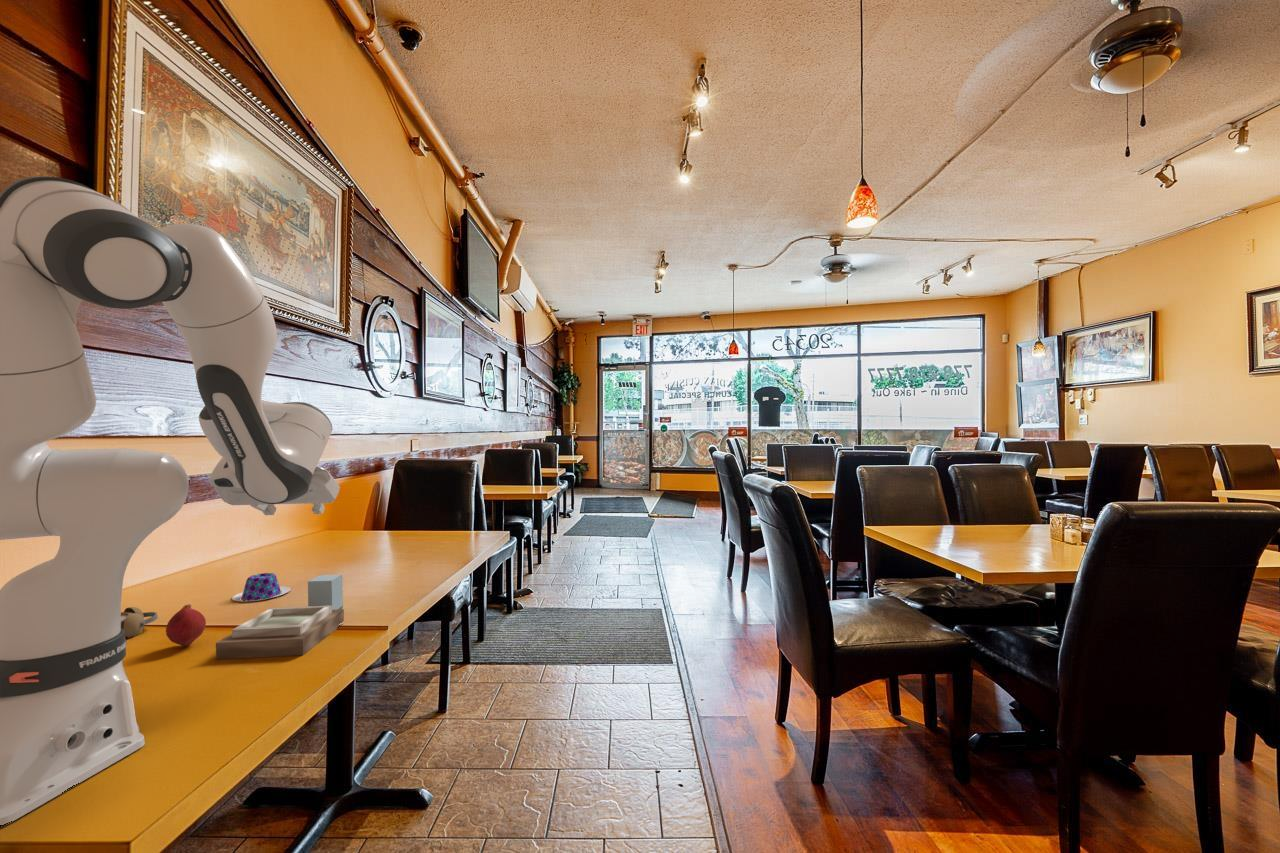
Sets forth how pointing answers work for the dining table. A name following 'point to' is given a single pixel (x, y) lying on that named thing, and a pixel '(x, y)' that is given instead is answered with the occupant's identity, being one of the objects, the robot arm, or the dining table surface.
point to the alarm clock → (135, 620)
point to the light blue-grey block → (326, 591)
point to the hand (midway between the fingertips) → (295, 511)
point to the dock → (280, 632)
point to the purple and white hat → (261, 588)
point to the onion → (185, 626)
